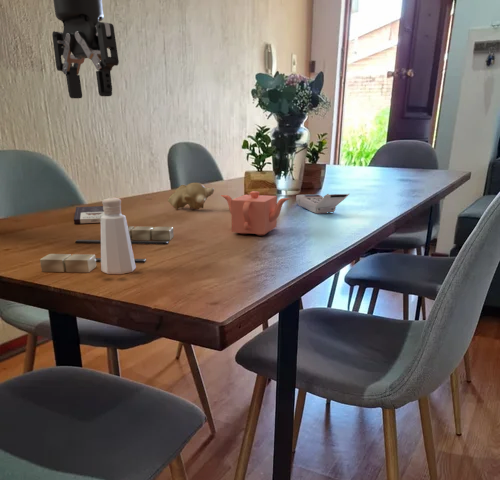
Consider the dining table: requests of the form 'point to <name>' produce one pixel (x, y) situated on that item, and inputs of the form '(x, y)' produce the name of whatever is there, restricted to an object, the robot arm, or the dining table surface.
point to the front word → (72, 262)
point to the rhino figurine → (190, 196)
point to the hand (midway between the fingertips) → (90, 97)
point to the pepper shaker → (115, 240)
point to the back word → (144, 235)
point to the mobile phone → (320, 202)
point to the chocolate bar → (88, 214)
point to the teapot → (254, 213)
